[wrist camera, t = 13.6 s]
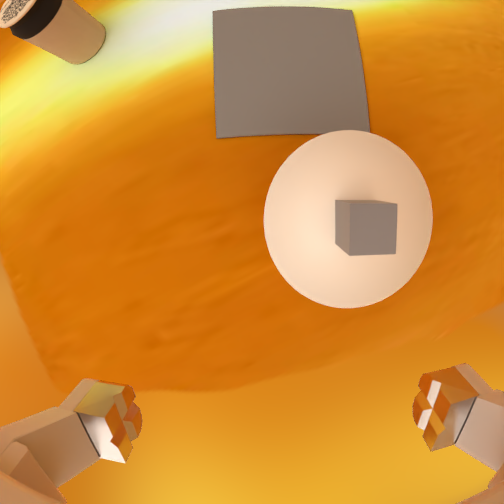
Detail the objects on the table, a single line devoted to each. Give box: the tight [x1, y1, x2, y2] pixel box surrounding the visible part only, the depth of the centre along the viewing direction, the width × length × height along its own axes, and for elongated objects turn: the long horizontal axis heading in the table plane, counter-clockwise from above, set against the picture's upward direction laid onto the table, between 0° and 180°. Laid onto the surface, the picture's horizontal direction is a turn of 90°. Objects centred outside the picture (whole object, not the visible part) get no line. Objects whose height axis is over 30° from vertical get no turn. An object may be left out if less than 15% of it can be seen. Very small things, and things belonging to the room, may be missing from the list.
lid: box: [264, 130, 433, 308], centre depth 25 cm, size 17×17×6 cm
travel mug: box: [0, 0, 105, 64], centre depth 25 cm, size 8×8×18 cm
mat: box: [213, 7, 370, 138], centre depth 35 cm, size 20×20×1 cm
